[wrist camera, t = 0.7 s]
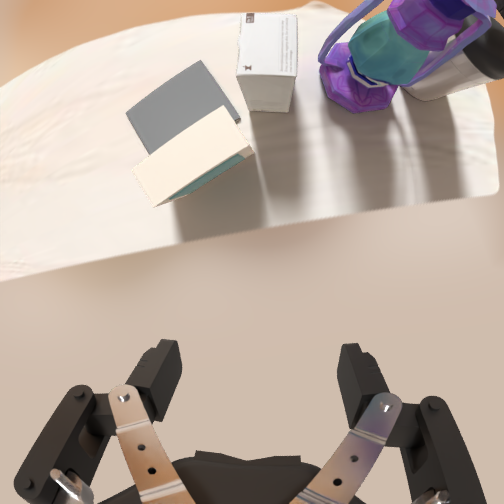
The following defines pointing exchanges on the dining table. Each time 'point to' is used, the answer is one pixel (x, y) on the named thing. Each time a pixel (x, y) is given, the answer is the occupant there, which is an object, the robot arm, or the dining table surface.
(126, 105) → the dining table surface
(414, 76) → the lantern
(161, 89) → the mat
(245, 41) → the skincare box
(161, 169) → the block
